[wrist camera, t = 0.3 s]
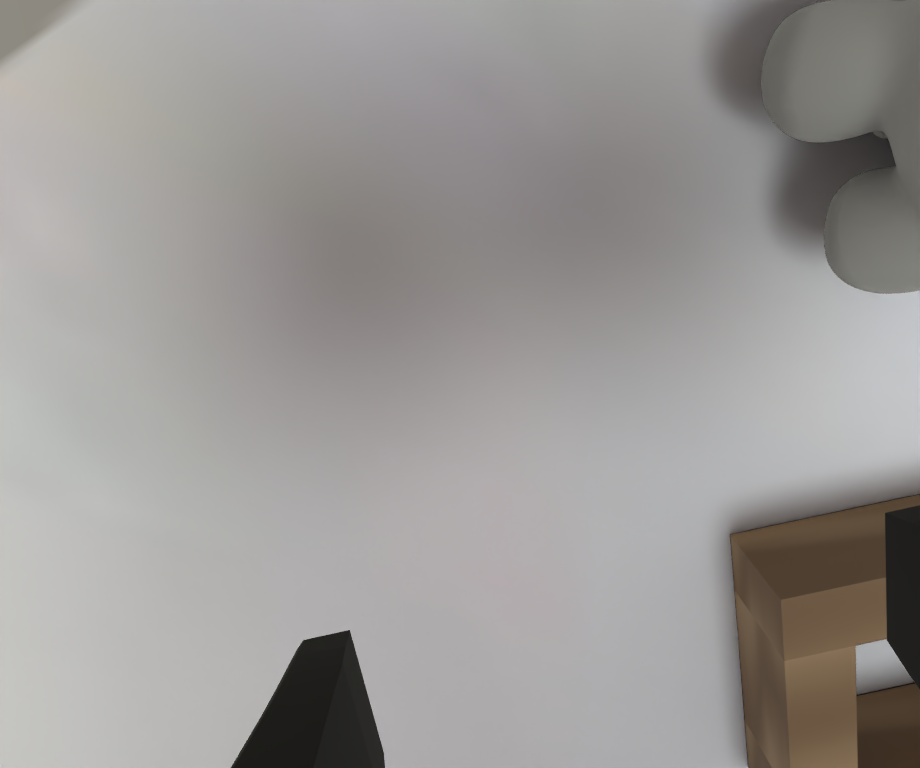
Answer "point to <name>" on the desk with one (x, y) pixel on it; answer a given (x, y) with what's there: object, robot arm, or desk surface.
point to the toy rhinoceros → (857, 126)
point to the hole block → (819, 644)
